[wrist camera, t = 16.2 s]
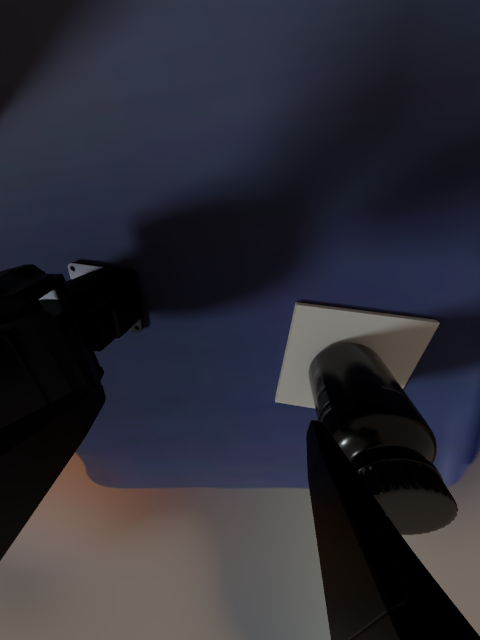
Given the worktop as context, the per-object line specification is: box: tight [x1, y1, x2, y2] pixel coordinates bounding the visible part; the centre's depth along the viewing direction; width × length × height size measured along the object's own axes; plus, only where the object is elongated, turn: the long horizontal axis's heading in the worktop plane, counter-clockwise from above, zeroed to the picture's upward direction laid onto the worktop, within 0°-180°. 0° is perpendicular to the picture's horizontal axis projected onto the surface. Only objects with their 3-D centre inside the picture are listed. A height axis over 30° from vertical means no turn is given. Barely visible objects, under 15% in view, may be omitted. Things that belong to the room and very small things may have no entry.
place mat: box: [275, 302, 440, 408], centre depth 23 cm, size 12×12×1 cm
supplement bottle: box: [309, 342, 458, 535], centre depth 17 cm, size 7×7×12 cm
